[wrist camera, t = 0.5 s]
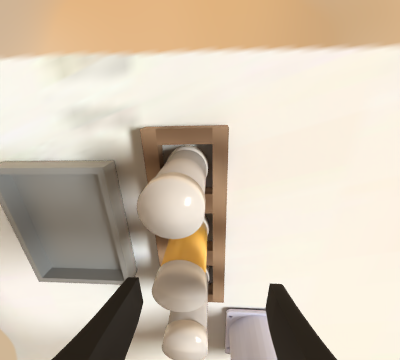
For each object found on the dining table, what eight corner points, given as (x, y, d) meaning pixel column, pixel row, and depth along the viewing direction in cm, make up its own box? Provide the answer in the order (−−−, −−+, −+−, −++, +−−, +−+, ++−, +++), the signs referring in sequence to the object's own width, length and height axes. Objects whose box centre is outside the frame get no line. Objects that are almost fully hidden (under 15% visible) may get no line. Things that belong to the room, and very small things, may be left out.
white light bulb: (208, 183, 18) (205, 239, 11) (170, 183, 19) (142, 238, 11) (207, 144, 17) (204, 180, 10) (166, 145, 17) (131, 180, 10)
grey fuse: (209, 280, 23) (208, 364, 16) (179, 279, 24) (164, 361, 16) (209, 257, 22) (207, 337, 15) (177, 256, 22) (159, 334, 15)
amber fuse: (209, 237, 21) (206, 313, 13) (175, 237, 21) (155, 311, 14) (208, 208, 19) (206, 275, 12) (172, 208, 20) (148, 273, 12)
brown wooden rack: (222, 290, 24) (223, 302, 22) (167, 288, 24) (164, 300, 23) (227, 125, 16) (228, 127, 15) (145, 126, 17) (139, 129, 15)
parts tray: (137, 270, 23) (130, 285, 22) (52, 267, 24) (39, 281, 22) (113, 160, 18) (102, 167, 16) (5, 161, 19) (-18, 168, 17)
